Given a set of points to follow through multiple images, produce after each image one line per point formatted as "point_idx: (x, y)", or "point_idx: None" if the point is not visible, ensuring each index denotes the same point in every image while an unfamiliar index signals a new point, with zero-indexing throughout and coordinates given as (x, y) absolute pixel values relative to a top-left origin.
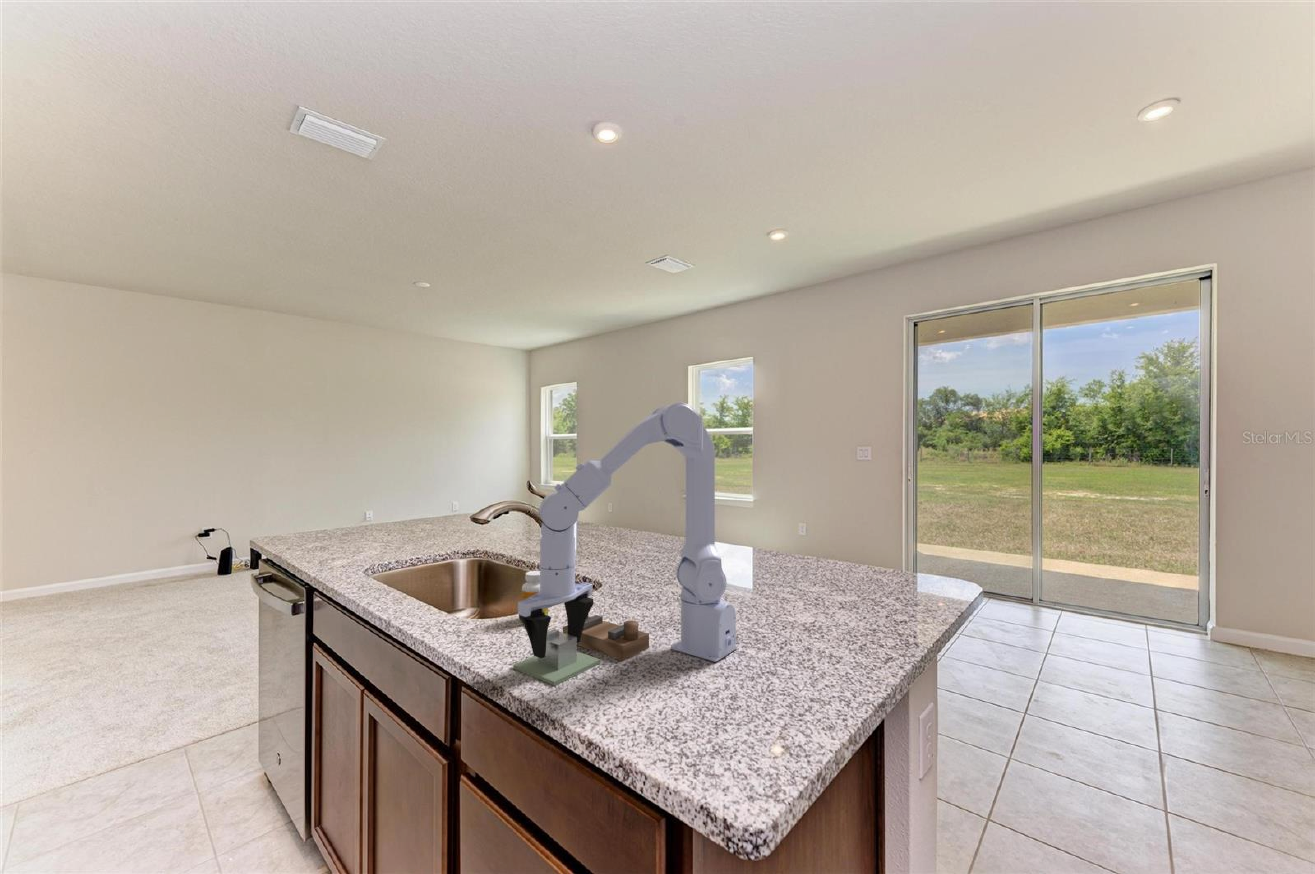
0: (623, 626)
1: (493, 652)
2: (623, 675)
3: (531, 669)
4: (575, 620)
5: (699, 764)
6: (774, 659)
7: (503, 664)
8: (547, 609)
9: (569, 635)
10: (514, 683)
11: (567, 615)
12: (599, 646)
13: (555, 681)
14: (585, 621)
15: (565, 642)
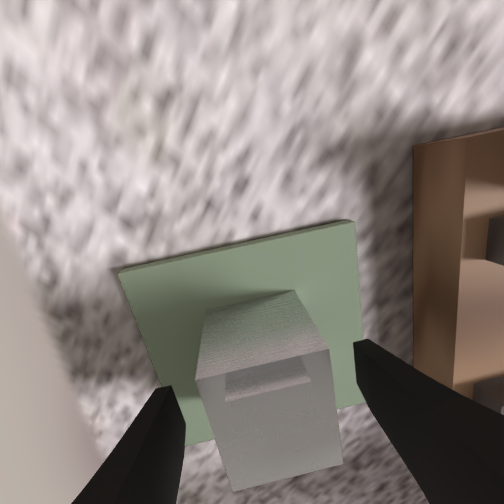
0: None
1: (96, 30)
2: (352, 467)
3: (162, 346)
4: (431, 472)
5: None
6: None
7: (101, 207)
8: None
9: (335, 432)
10: (91, 366)
11: (449, 435)
12: (429, 347)
13: (189, 444)
14: None
15: (275, 477)
